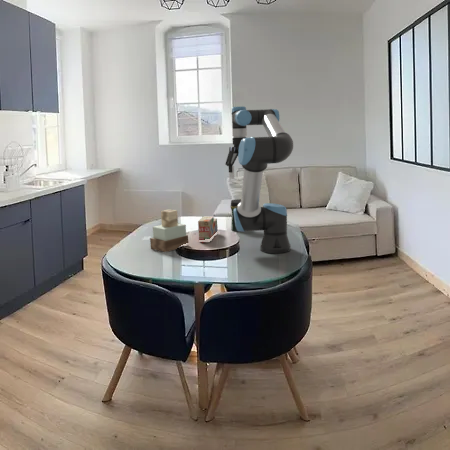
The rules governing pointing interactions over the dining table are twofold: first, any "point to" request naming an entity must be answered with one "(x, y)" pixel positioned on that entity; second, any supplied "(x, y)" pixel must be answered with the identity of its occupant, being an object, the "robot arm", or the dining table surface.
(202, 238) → the printed cardboard box
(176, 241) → the tower base
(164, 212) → the maple block
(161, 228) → the tower top
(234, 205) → the coffee jar
